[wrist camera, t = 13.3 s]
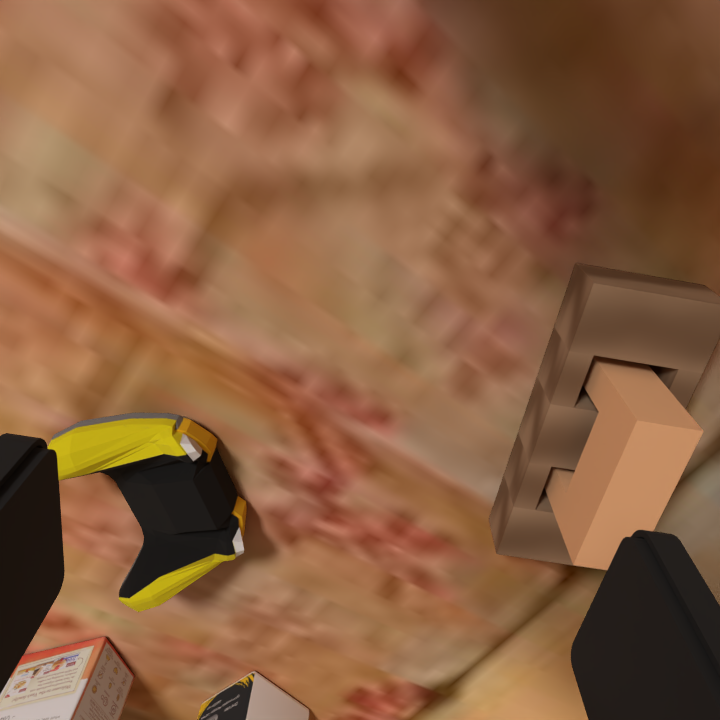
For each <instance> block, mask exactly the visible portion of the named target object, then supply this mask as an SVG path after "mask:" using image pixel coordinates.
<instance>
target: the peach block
mask: <svg viewBox="0 0 720 720" xmlns="http://www.w3.org/2000/svg"><path fill="white" fill-rule="evenodd" d="M583 386H584V388H585V390H586V391H587V393H588V395H589V396H590V398H591V400H592V401H593V403H594V405H595V406H596V408H597V410H598V411H599V413H598V415H597V418H596V420H595V423H594V425H593V428H592V430H591V432H590V435H589V437H588V440H587V442H586V445H585V447H584V450H583V452H582V455H581V457H580V460H579V462H578V464H577V467H576V469H575V470H571V469H564V468H558V467H551V469H550V472H549V475H548V477H547V480H546V482H545V485H544V488H545V491H546V493H547V496H548V499H549V501H550V504H551V507H552V509H553V512H554V515H555V517H556V520H557V523H558V526H559V528H560V531H561V534H562V536H563V539H564V542H565V544H566V547H567V550H568V552H569V555H570V558H571V561H572V563H573V565H576V566H583V567H589V568H596V569H603V570H608V568H609V566H610V564H611V562H612V560H613V557H614V555H615V553H616V551H617V549H618V547H619V545H620V543H621V541H622V540H623V538H625V537H631V536H632V534H633V533H634V532H635V531H637V530H647V531H654V529H655V527H656V525H657V523H658V521H659V519H660V517H661V515H662V513H663V511H664V509H665V507H666V505H667V503H668V501H669V499H670V497H671V495H672V493H673V491H674V489H675V487H676V485H677V483H678V481H679V479H680V477H681V475H682V473H683V471H684V469H685V467H686V465H687V463H688V461H689V459H690V457H691V455H692V453H693V451H694V449H695V447H696V445H697V443H698V441H699V439H700V437H701V435H702V433H703V430H702V429H701V428H700V426H699V425H698V424H697V423H696V422H695V420H694V419H693V418H692V417H691V416H690V414H689V413H688V412H687V411H686V410H685V408H684V407H683V406H682V405H681V404H680V402H679V401H678V400H677V399H676V398H675V397H674V395H673V394H672V393H671V392H670V391H669V389H668V388H667V387H666V386H665V385H664V383H663V382H662V381H661V380H660V379H659V377H658V376H657V375H656V374H655V373H654V371H653V370H652V369H651V368H650V367H649V365H648V364H643V363H637V362H631V361H625V360H619V359H613V358H607V357H601V356H595V355H594V356H593V359H592V361H591V364H590V366H589V369H588V372H587V374H586V377H585V380H584V382H583Z"/></svg>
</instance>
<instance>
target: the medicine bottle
mask: <svg viewBox="0 0 720 720" xmlns="http://www.w3.org/2000/svg"><path fill="white" fill-rule="evenodd" d="M197 720H309V709H308V708H307V707H305V706H304V705H302V704H301V703H300V702H298V701H297V700H295V699H294V698H293V697H291V696H290V695H288V694H287V693H286V692H284V691H283V690H281V689H280V688H278V687H277V686H276V685H274V684H273V683H271V682H270V681H269V680H267V679H266V678H264V677H263V676H262V675H260V674H259V673H257V672H256V671H253V672H251V673H249V674H248V675H246V676H245V677H243V678H241V679H240V680H238V681H237V682H235V683H233V684H232V685H230V686H229V687H227V688H225V689H224V690H222V691H220V692H219V693H217V694H216V695H214V696H212V697H211V698H209V699H208V700H206V701H204V702H203V703H202V704H201V707H200V711H199V715H198V719H197Z"/></svg>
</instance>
